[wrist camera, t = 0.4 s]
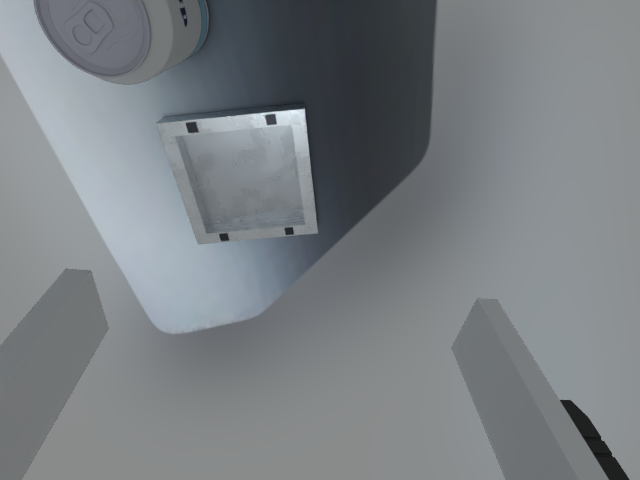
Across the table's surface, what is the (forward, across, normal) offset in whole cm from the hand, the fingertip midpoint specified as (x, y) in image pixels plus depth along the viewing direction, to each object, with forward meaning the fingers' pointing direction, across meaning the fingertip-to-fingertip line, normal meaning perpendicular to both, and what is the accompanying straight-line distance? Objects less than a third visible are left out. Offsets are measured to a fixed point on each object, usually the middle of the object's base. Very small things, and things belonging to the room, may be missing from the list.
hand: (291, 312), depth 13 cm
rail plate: (+25, -5, -7) cm, 26 cm away
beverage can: (+25, -11, +7) cm, 28 cm away
